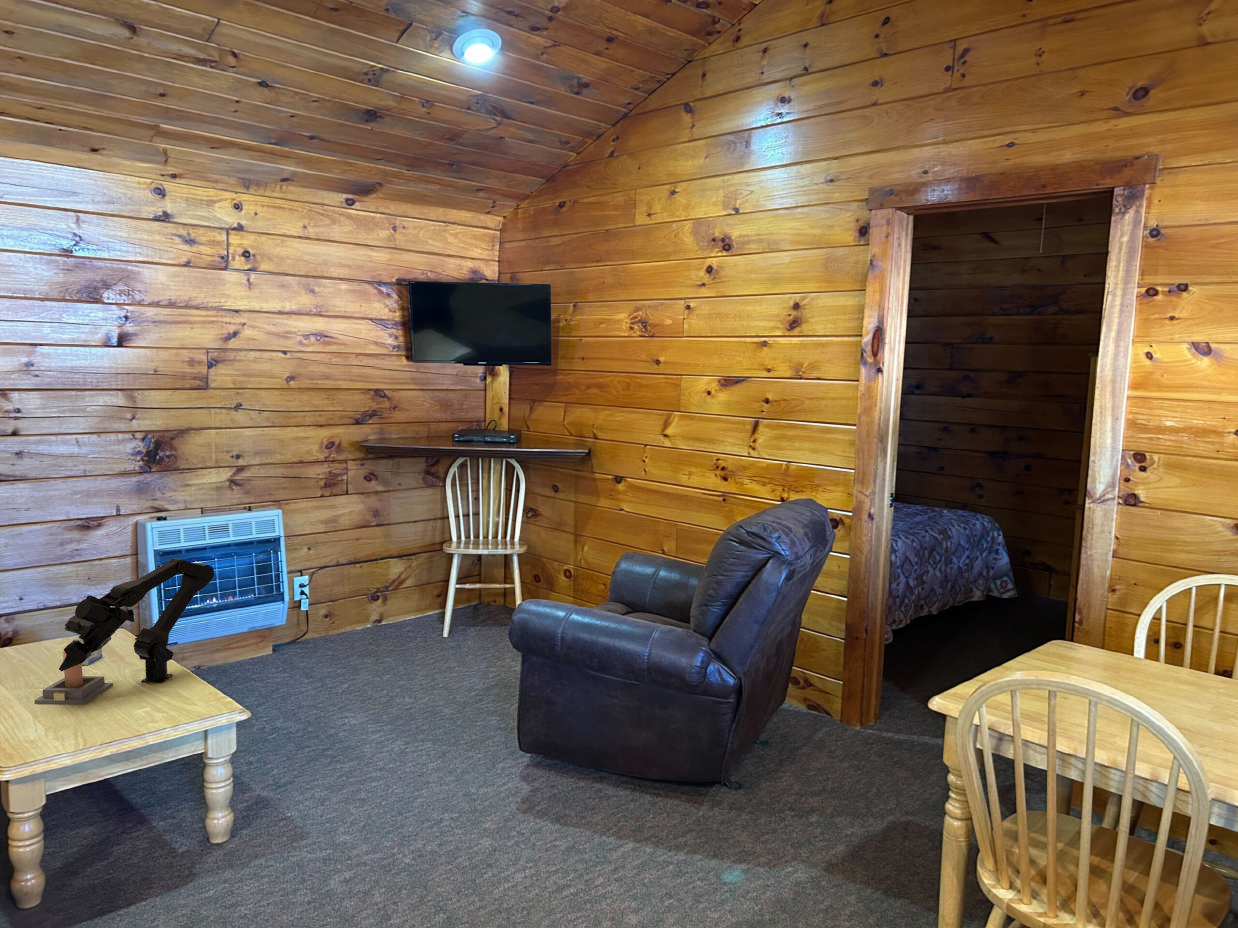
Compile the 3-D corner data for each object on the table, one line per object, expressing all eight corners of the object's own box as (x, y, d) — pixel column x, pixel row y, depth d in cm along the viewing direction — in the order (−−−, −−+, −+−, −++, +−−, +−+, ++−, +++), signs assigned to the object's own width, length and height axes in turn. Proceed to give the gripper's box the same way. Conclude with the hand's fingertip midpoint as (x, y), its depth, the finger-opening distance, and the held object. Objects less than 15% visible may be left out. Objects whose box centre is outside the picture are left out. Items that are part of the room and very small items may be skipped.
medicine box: (87, 665, 280) (86, 639, 279) (74, 665, 280) (72, 638, 279) (102, 657, 288) (101, 631, 287) (89, 657, 288) (87, 631, 287)
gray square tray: (65, 685, 263) (65, 674, 263) (112, 685, 263) (112, 674, 263) (34, 703, 249) (33, 691, 249) (84, 704, 249) (83, 692, 249)
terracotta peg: (72, 688, 258) (68, 648, 257) (87, 688, 258) (83, 648, 257) (62, 693, 254) (59, 653, 252) (77, 694, 254) (74, 653, 252)
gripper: (97, 598, 263) (59, 636, 262) (69, 616, 245) (28, 657, 244) (127, 623, 265) (89, 660, 265) (102, 642, 247) (61, 683, 246)
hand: (67, 664), depth 255 cm, fingers open, 9 cm apart
